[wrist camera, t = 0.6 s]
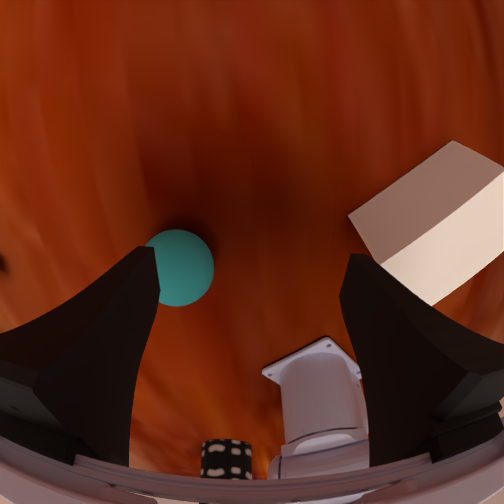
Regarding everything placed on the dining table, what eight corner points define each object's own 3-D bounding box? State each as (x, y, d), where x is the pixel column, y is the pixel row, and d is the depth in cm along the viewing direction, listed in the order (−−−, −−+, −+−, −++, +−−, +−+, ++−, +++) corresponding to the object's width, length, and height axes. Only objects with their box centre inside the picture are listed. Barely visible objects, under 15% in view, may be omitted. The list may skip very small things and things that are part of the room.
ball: (231, 250, 22) (228, 297, 18) (184, 285, 23) (173, 332, 19) (181, 202, 20) (163, 241, 15) (136, 244, 21) (113, 287, 17)
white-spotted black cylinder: (211, 435, 40) (206, 551, 23) (259, 443, 42) (263, 552, 26) (196, 449, 44) (190, 548, 28) (239, 456, 46) (240, 551, 30)
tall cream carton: (473, 200, 19) (518, 238, 14) (381, 267, 23) (410, 319, 18) (452, 140, 17) (506, 168, 12) (347, 215, 20) (378, 266, 15)
